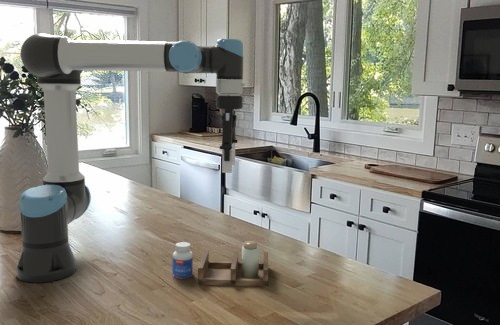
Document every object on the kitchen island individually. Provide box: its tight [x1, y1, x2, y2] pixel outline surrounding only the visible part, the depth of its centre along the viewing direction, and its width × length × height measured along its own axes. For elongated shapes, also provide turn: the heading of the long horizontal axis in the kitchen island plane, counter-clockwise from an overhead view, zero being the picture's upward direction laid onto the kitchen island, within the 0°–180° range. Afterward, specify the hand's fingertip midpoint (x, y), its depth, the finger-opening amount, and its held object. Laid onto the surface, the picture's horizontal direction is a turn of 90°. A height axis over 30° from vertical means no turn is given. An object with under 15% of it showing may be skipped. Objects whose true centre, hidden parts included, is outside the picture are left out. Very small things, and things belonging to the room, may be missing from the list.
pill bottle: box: [171, 241, 194, 280], centre depth 130 cm, size 6×5×10 cm
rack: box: [197, 250, 269, 287], centre depth 130 cm, size 18×13×6 cm
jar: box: [241, 240, 260, 279], centre depth 130 cm, size 5×5×9 cm
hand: (228, 168), depth 141 cm, fingers open, 13 cm apart
